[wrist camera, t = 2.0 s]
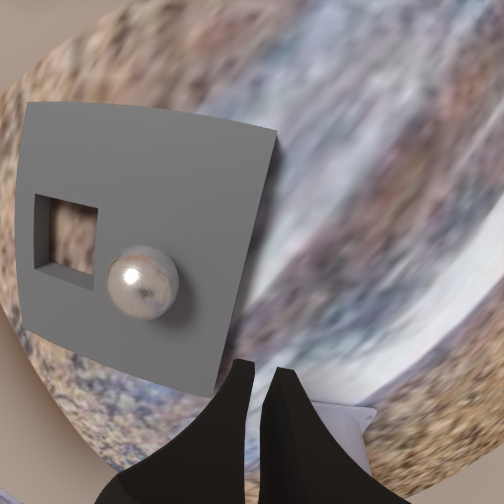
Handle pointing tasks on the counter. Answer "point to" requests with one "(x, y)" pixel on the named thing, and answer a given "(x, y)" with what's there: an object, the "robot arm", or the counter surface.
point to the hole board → (139, 229)
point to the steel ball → (142, 282)
